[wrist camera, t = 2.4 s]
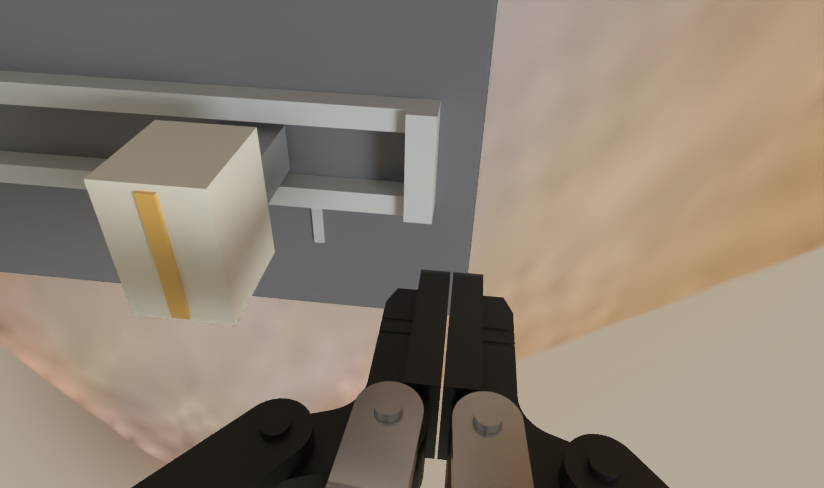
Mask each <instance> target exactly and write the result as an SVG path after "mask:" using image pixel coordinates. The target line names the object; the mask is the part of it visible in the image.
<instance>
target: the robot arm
mask: <svg viewBox="0 0 824 488" xmlns="http://www.w3.org/2000/svg"><path fill="white" fill-rule="evenodd" d="M450 275H451V272H447V271H436V270H425V269H421V274H420V280H419V286H418V290H414V289H403V288H397V290H396V291H395V292H394V293H393V294H392V295H391V296H390V298H389V299H388V300H387V301H386V304H385V308H384V313H383V317H382V322H381V326H380V330H379V335H378V339H377V343H376V348H375V352H374V356H373V361H372V365H371V370H370V374H369V378H368V382H367V385H366V387H365V389H364V390H363V391H362V392H361V393H360V394H359V395H358V397H357V398H356V400H354V401H353V402H351V403H350V404H348V405H346V406H344V407H341V408H338V409H334V410H329V411H324V412H318V413H312V414H310V412H309V410H308V409H307V408H306V407H305V406H304V405H302V404H301V403H299V402H297V401H294V400H291V399H282V398H279V399H272V400H268V401H265V402H263V403H261V404H259V405H257V406H255V407H254V408H252V409H251V410H249V411H248V412H246V413H245V414H243V415H242V416H240V417H238V418H237V419H235V420H234V421H232V422H231V423H229V424H228V425H226V426H225V427H223V428H222V429H220V430H219V431H217V432H216V433H214V434H213V435H211V436H209V437H208V438H206V439H205V440H203V441H202V442H200V443H199V444H197V445H196V446H194V447H193V448H191V449H190V450H188V451H187V452H185V453H184V454H182V455H181V456H179V457H177V458H176V459H174V460H173V461H171V462H170V463H168V464H167V465H165V466H164V467H162V468H161V469H159V470H158V471H156V472H155V473H153V474H152V475H150V476H148V477H147V478H145V479H144V480H143V481H141V482H139V483H138V484H136V485H135V486H133V487H132V488H420V486H421V484H422V479H423V472H424V462H425V458H432V459H434V456H435V445H436V434H437V422H438V411H439V400H440V389H441V378H442V367H443V356H444V344H445V333H446V322H447V310H448V298H449V287H450ZM514 344H515V342H514V323H513V312H512V311H511V309H510V308H509V306H508V304H507V303H506V301H505V300H504V298H501V297H491V296H483V275H482V274H471V273H460V272H453V282H452V294H451V305H450V316H449V328H448V339H447V351H446V363H445V375H444V386H443V399H442V410H441V422H440V434H439V446H438V459H443V460H447V464H446V477H445V488H669V487H668V486H667V485H666V484H665V483H664V482H663V481H662V480H661V479H660V478H659V477H658V476H657V475H655V474H654V473H653V472H652V471H651V470H650V469H649V468H648V467H647V466H646V465H645V464H644V463H643V462H642V461H641V460H640V459H639V458H638V457H637V456H636V455H635V454H633V453H632V452H631V451H630V450H629V449H628V448H627V447H626V446H624V445H623V444H622V443H620V442H618V441H617V440H615V439H613V438H610V437H607V436H603V435H599V434H586V435H582V436H579V437H577V438H575V439H574V440H572V441H571V442H568V441H566V440H563V439H561V438H558V437H556V436H553V435H551V434H548V433H546V432H544V431H542V430H541V429H539V428H537V427H536V426H535V425H534V424H532V423H531V422H530V421H529V420H528V419H527V418H526V416H525V415H524V414H523V412H522V410H521V408H520V406H519V403H518V397H517V380H516V360H515V347H514Z"/></svg>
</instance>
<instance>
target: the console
mask: <svg viewBox="0 0 824 488" xmlns="http://www.w3.org/2000/svg"><path fill="white" fill-rule="evenodd" d="M497 3H498V0H0V272H8V273H18V274H29V275H39V276H50V277H60V278H71V279H81V280H91V281H102V282H112V283H121V281H120V279H119V276H118V273H117V270H116V268H115V265H114V262H113V259H112V257H111V254H110V251H109V248H108V246H107V243H106V240H105V237H104V235H103V232H102V229H101V226H100V224H99V221H98V218H97V215H96V213H95V210H94V207H93V204H92V202H91V199H90V196H89V193H88V191H87V188H86V185H85V182H84V180H83V179H84V178H85V177H86V176H88V175H89V174H90V173H91V172H92V171H94V170H95V169H96V168H97V167H99V166H100V165H101V164H102V163H103V162H105V161H106V160H107V159H108V158H109V157H111V156H112V155H113V154H114V153H115V152H117V151H118V150H119V149H120V148H122V147H123V146H124V145H125V144H126V143H128V142H129V141H130V140H131V139H132V138H134V137H135V136H136V135H137V134H138V133H140V132H141V131H142V130H143V129H145V128H146V127H147V126H148V125H149V124H151V123H152V122H153V121H154V120H163V121H177V122H191V123H205V124H214V123H215V122H216V121H217V120H221V121H235V122H249V123H263V124H277V125H285V131H286V140H287V149H288V157H289V166H290V170H289V171H288V173H287V174H286V176H285V178H284V179H283V181H282V183H281V184H280V186H279V187H278V189H277V191H276V192H275V194H274V196H273V197H272V199H271V201H270V202H269V204H268V208H269V215H270V222H271V229H272V235H273V242H274V249H275V253H274V255H273V256H272V258H271V260H270V262H269V264H268V266H267V268H266V270H265V272H264V274H263V276H262V277H261V279H260V281H259V283H258V285H257V287H256V289H255V291H254V293H253V295H252V296H259V297H269V298H279V299H290V300H300V301H311V302H321V303H332V304H342V305H352V306H363V307H373V308H385V304H386V301H387V300H388V299H389V298H390V296H391V295H392V294H393V293H394V292H395V291H396V290H397V288H403V289H414V290H418V286H419V280H420V274H421V269H425V270H436V271H447V272H451V275H450V287H449V298H448V310H447V315H450V305H451V294H452V282H453V272H460V273H468V268H469V259H470V250H471V241H472V232H473V222H474V213H475V204H476V195H477V186H478V177H479V167H480V158H481V149H482V140H483V131H484V122H485V113H486V103H487V94H488V85H489V76H490V67H491V58H492V49H493V39H494V30H495V21H496V12H497Z"/></svg>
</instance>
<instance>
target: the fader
mask: <svg viewBox="0 0 824 488" xmlns="http://www.w3.org/2000/svg"><path fill="white" fill-rule="evenodd" d="M289 170H290V166H289V157H288V149H287V140H286V131H285V125H277V124H263V123H249V122H235V121H221V120H217V121H216V122H215V123H214V124H205V123H191V122H177V121H163V120H154V121H153V122H152V123H151V124H149V125H148V126H147V127H146V128H145V129H143V130H142V131H141V132H140V133H138V134H137V135H136V136H135V137H134V138H132V139H131V140H130V141H129V142H128V143H126V144H125V145H124V146H123V147H122V148H120V149H119V150H118V151H117V152H115V153H114V154H113V155H112V156H111V157H109V158H108V159H107V160H106V161H105V162H103V163H102V164H101V165H100V166H99V167H97V168H96V169H95V170H94V171H92V172H91V173H90V174H89V175H88V176H86V177H85V178H84V179H83V180H84V182H85V185H86V188H87V191H88V193H89V196H90V199H91V202H92V204H93V207H94V210H95V213H96V215H97V218H98V221H99V224H100V226H101V229H102V232H103V235H104V237H105V240H106V243H107V246H108V248H109V251H110V254H111V257H112V259H113V262H114V265H115V268H116V270H117V273H118V276H119V279H120V281H121V284H122V287H123V289H124V292H125V295H126V298H127V300H128V303H129V306H130V309H131V311H132V314H133V316H140V317H150V318H160V319H170V320H180V321H190V322H200V323H210V324H220V325H230V326H236V325H237V323H238V321H239V319H240V318H241V316H242V314H243V312H244V310H245V308H246V306H247V304H248V302H249V300H250V298H251V297H252V295H253V293H254V291H255V289H256V287H257V285H258V283H259V281H260V279H261V277H262V276H263V274H264V272H265V270H266V268H267V266H268V264H269V262H270V260H271V258H272V256H273V255H274V253H275V249H274V242H273V235H272V229H271V222H270V215H269V208H268V204H269V202H270V201H271V199H272V197H273V196H274V194H275V192H276V191H277V189H278V187H279V186H280V184H281V183H282V181H283V179H284V178H285V176H286V174H287V173H288V171H289Z"/></svg>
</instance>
